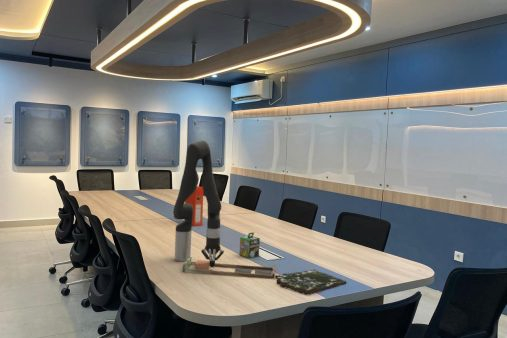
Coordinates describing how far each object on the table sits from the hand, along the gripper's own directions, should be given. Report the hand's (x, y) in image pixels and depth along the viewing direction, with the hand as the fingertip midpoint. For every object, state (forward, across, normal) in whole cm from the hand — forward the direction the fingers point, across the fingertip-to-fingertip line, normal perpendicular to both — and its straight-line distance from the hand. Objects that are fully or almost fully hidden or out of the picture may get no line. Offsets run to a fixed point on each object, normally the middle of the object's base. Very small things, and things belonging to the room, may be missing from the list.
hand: (212, 267), depth 218 cm
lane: (+2, -10, 0) cm, 10 cm away
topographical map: (+2, -51, +8) cm, 52 cm away
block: (+2, +5, 0) cm, 6 cm away
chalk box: (+2, -18, -33) cm, 37 cm away
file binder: (+2, +37, -116) cm, 122 cm away
